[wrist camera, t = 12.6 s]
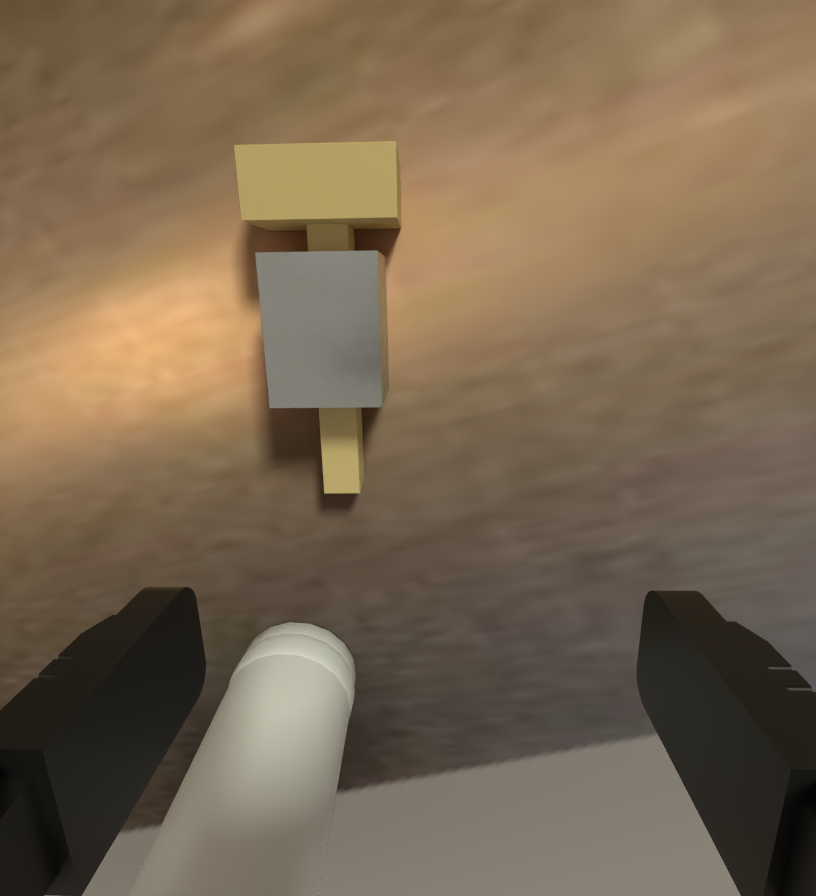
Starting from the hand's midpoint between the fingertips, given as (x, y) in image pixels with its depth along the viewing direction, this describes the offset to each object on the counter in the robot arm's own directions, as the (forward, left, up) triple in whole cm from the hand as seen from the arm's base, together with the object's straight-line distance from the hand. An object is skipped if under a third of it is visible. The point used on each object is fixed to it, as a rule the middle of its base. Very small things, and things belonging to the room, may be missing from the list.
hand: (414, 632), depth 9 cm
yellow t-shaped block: (+4, -3, -22) cm, 22 cm away
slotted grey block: (+4, -4, -22) cm, 23 cm away
